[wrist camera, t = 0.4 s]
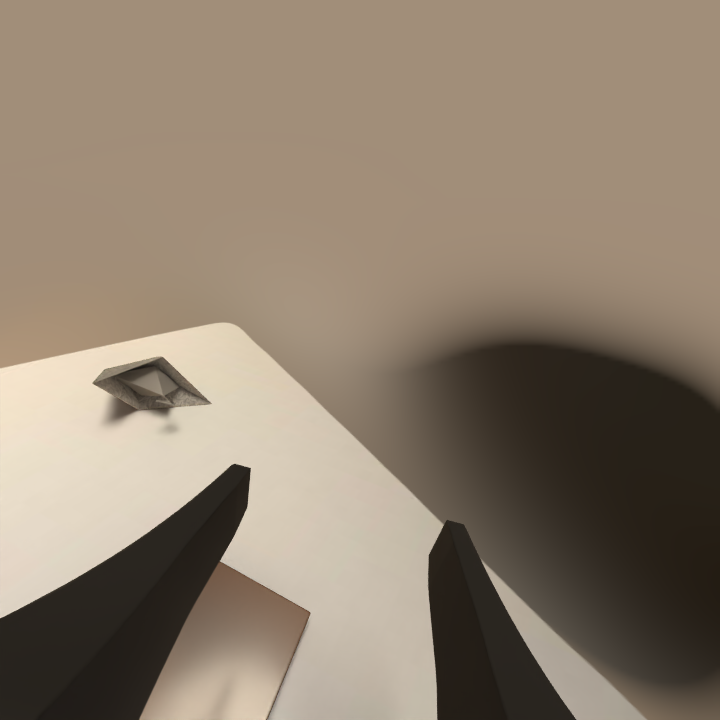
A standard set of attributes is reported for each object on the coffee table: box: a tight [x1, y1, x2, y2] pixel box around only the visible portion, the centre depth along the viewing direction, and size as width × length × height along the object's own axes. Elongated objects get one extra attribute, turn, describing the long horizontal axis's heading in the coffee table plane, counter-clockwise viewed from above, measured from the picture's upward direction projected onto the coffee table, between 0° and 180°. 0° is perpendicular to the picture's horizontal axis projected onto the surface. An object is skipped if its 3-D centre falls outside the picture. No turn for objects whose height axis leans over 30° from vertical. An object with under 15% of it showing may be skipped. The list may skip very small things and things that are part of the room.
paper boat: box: [93, 357, 211, 410], centre depth 35 cm, size 12×6×9 cm
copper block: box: [139, 561, 310, 720], centre depth 21 cm, size 10×10×2 cm
